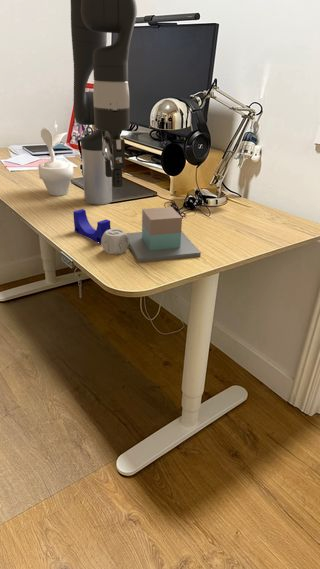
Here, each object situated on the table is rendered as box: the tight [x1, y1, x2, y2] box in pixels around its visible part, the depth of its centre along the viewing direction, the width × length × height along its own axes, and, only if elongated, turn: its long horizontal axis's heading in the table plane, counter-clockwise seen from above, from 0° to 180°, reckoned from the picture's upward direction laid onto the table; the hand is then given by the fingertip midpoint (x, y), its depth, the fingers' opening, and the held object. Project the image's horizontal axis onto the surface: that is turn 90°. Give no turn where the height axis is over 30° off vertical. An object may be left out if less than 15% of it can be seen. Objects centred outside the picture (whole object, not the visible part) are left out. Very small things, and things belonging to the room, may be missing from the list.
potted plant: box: [37, 119, 74, 197], centre depth 134 cm, size 13×12×25 cm
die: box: [100, 228, 129, 255], centre depth 99 cm, size 5×5×5 cm
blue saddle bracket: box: [72, 208, 112, 245], centre depth 107 cm, size 12×4×6 cm, turn 46°
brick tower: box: [125, 206, 202, 263], centre depth 102 cm, size 16×16×9 cm
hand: (113, 181), depth 92 cm, fingers open, 8 cm apart
